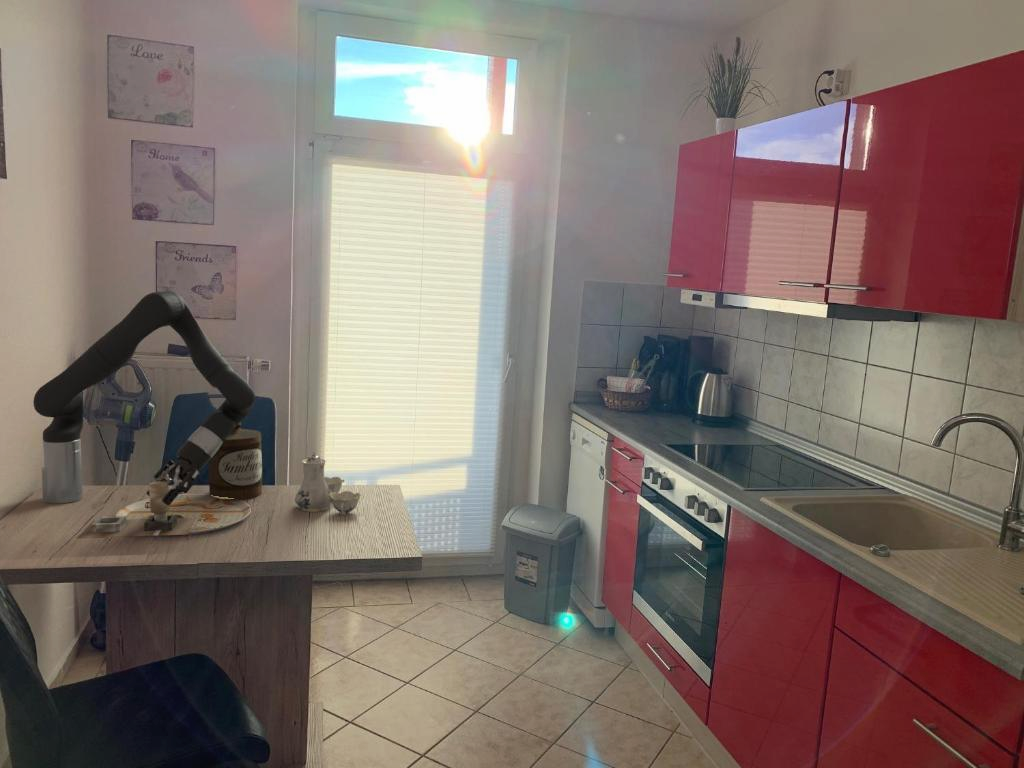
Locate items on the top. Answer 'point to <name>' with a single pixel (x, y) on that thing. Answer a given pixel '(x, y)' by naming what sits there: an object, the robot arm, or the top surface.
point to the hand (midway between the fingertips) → (157, 499)
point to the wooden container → (237, 466)
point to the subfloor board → (137, 527)
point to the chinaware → (323, 490)
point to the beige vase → (158, 500)
